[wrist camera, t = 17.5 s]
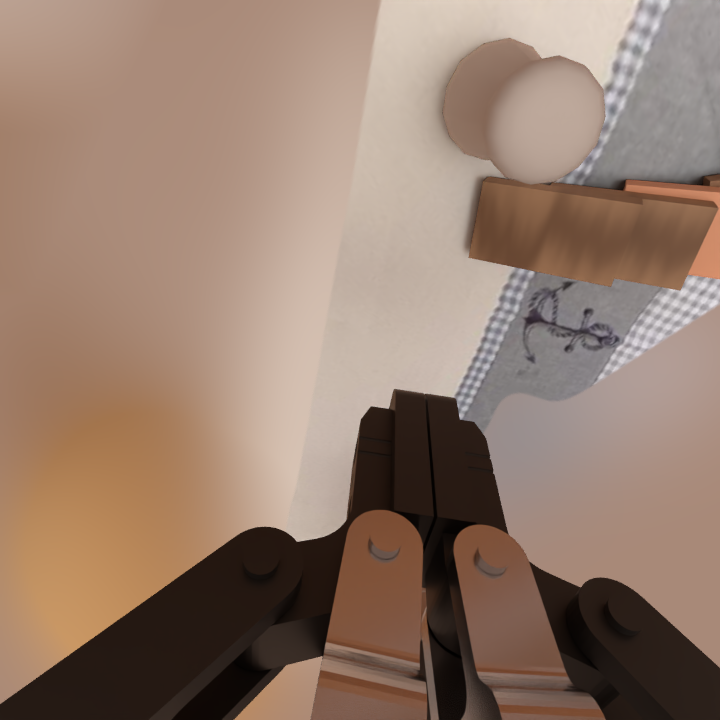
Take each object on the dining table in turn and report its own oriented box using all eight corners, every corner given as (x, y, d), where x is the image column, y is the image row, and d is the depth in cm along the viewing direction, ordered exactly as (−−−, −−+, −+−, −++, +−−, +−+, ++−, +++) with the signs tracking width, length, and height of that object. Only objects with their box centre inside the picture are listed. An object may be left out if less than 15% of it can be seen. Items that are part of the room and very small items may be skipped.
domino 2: (533, 255, 32) (677, 280, 29) (530, 263, 31) (680, 290, 28) (551, 182, 29) (714, 201, 26) (549, 187, 28) (718, 208, 25)
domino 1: (474, 250, 32) (610, 277, 29) (468, 257, 31) (610, 286, 28) (488, 176, 29) (641, 198, 26) (483, 181, 28) (643, 204, 25)
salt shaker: (426, 135, 28) (442, 182, 17) (463, 25, 25) (511, 2, 14) (512, 164, 29) (579, 228, 18) (558, 61, 26) (675, 63, 15)
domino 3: (603, 254, 32) (760, 276, 28) (602, 262, 30) (766, 286, 27) (626, 179, 29) (803, 194, 25) (626, 184, 28) (811, 200, 24)
